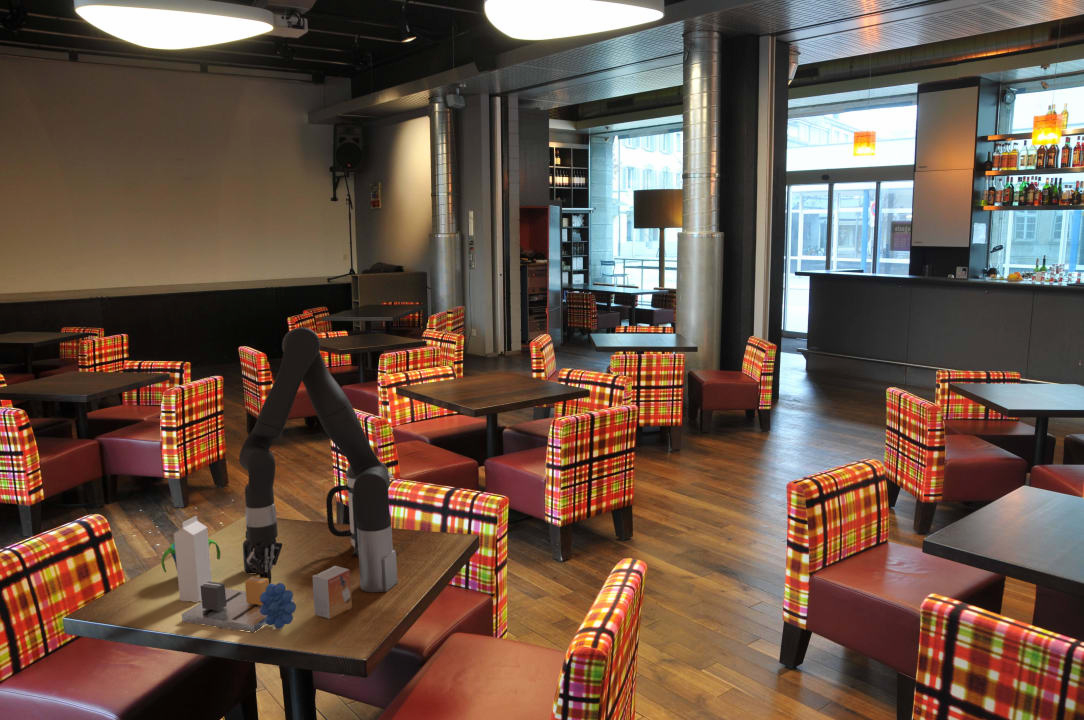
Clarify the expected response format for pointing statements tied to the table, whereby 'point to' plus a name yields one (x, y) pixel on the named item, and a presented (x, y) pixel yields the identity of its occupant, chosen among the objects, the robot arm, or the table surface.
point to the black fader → (213, 596)
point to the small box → (332, 592)
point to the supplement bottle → (247, 555)
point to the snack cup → (172, 551)
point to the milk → (192, 559)
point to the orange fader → (255, 589)
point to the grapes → (277, 605)
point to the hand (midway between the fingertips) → (266, 584)
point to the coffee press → (353, 523)
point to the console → (229, 613)
